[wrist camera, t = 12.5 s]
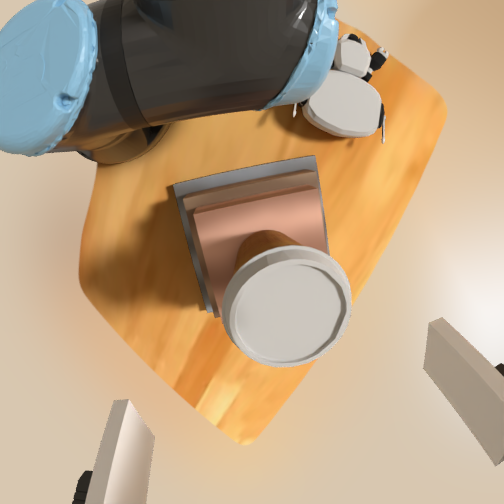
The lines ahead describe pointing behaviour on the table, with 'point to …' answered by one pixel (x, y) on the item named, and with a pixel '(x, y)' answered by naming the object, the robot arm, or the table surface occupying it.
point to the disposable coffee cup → (285, 301)
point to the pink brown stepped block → (248, 216)
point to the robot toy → (348, 93)
